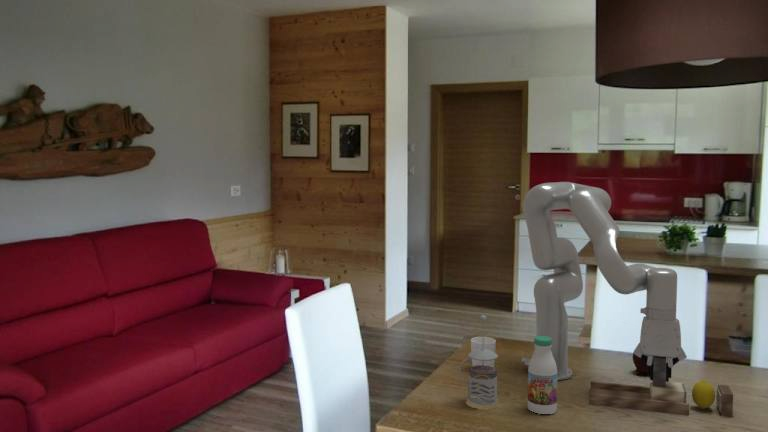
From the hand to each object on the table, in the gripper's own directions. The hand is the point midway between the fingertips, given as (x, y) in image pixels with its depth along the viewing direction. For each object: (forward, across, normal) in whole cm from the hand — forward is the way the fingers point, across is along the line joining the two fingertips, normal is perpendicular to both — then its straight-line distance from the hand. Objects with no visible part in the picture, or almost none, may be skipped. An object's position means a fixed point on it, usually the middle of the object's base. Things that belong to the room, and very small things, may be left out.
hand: (659, 378), depth 177 cm
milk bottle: (+7, -30, -14) cm, 34 cm away
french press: (+7, -47, -14) cm, 49 cm away
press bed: (+7, -5, 0) cm, 9 cm away
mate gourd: (+7, -2, +26) cm, 27 cm away
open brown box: (+7, +16, 0) cm, 18 cm away
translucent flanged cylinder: (+7, -51, +13) cm, 53 cm away
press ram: (+6, +2, 0) cm, 6 cm away
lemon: (+7, +11, 0) cm, 13 cm away
